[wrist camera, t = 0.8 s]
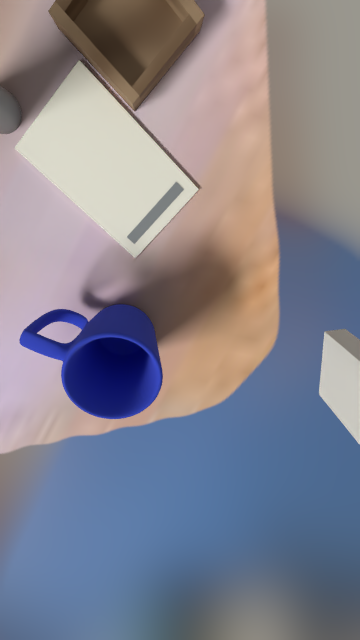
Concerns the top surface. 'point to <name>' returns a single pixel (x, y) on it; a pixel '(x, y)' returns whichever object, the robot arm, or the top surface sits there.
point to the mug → (104, 359)
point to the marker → (9, 112)
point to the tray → (129, 38)
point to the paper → (105, 162)
